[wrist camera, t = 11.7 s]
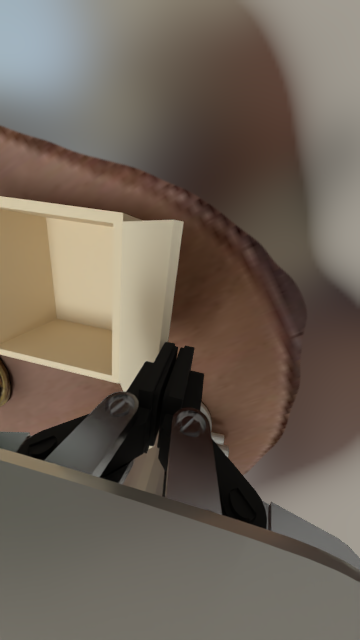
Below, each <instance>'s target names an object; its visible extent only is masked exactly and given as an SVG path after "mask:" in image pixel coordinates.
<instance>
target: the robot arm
mask: <svg viewBox="0 0 360 640" xmlns="http://www.w3.org/2000/svg"><path fill="white" fill-rule="evenodd" d="M177 351H178V347H176V346H175V344H174V343H169V342H165V343H164V345H163V346H162V348H161V350H160V352H159V354H158V356H157V357H156V359H155V361H154V363H153V362H148V361H146V362H145V363H144V364H143V366H142V368H141V369H140V371H139V372H138V374H137V376H136V377H135V379H134V380H133V382H132V383H131V385H130V387H129V388H128V390H127V391H126V392H116V393H113V394H111V395H109V396H108V397H106V398H105V399H104V400H103V401H102V402H101V403H100V404H99V405H98V406H97V407H96V408H95V409H94V410H93V411H92V412H91V413H90V414H87V415H85V416H82V417H79V418H76V419H74V420H71V421H68V422H65V423H63V424H60V425H57V426H54V427H52V428H49V429H46V430H43V431H41V432H39V433H37V434H35V435H33V436H30V433H24V432H0V640H360V558H359V557H358V556H357V555H356V554H355V553H354V552H353V551H352V549H351V548H350V547H349V546H348V545H346V544H345V543H344V542H342V541H341V540H340V539H338V538H336V537H335V536H333V535H331V534H329V533H327V532H326V531H324V530H322V529H320V528H318V527H316V526H315V525H313V524H311V523H309V522H307V521H305V520H303V519H302V518H300V517H298V516H296V515H294V514H293V513H291V512H289V511H287V510H285V509H283V508H282V507H280V506H278V505H276V504H274V503H272V502H271V504H270V505H269V504H267V503H265V502H264V501H262V500H261V498H260V497H259V495H258V494H257V492H256V491H255V490H254V488H253V487H252V486H251V485H250V484H249V482H248V481H247V480H246V479H245V478H244V476H243V475H242V474H241V473H240V472H239V470H238V469H237V468H236V467H235V466H234V464H233V463H232V462H231V461H230V460H229V458H228V453H229V448H228V446H227V445H224V444H223V443H224V435H222V434H218V433H213V432H211V427H212V422H211V416H210V413H209V411H208V410H207V408H206V407H205V405H204V404H203V403H202V402H201V399H202V389H203V379H204V374H203V373H199V372H194V371H190V370H191V364H192V359H193V353H194V347H189V346H185V347H184V348H180V351H179V354H178V356H177ZM176 358H177V359H176ZM154 444H155V445H154ZM149 446H154V447H152V448H150V449H149Z"/></svg>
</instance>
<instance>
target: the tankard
mask: <svg viewBox="0 0 360 640" xmlns="http://www.w3.org/2000/svg"><path fill="white" fill-rule="evenodd" d="M10 387H11V385H10V381H9V378H8V371H7V370H6V368H5V366H4V364H3V363H2V361H1V360H0V406H2V405H4V404H5V403H6V402H7V401H8V399H9V397H10Z"/></svg>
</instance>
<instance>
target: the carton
mask: <svg viewBox="0 0 360 640" xmlns="http://www.w3.org/2000/svg"><path fill="white" fill-rule="evenodd" d="M125 221H143V220H140V219H138V218H135V217H133V216H130V215H127V214H125V213H120V212H113V211H106V210H98V209H91V208H84V207H76V206H69V205H61V204H54V203H47V202H39V201H32V200H25V199H17V198H10V197H2V196H0V355H4V356H8V357H12V358H16V359H21V360H25V361H29V362H33V363H37V364H41V365H45V366H49V367H53V368H57V369H61V370H65V371H70V372H74V373H78V374H82V375H86V376H90V377H94V378H98V379H102V380H106V381H110V382H114V383H118V384H119V383H120V382H119V342H120V300H121V258H122V222H125Z"/></svg>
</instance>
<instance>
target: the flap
mask: <svg viewBox="0 0 360 640" xmlns="http://www.w3.org/2000/svg"><path fill="white" fill-rule="evenodd" d="M183 223H184V222H183V221H178V220H150V221H125V222H122V258H121V300H120V342H119V382H120V384H121V387H122V389H123V391H124V392H126V391H127V390H128V388H129V387H130V385H131V383H132V382H133V380H134V379H135V377H136V376H137V374H138V372H139V371H140V369H141V368H142V366H143V364H144V363H145V362H146V361H148V362H153V363H154V361H155V359H156V357H157V356H158V354H159V352H160V350H161V348H162V346H163V345H164V343H165V342H168V338H169V330H170V322H171V315H172V307H173V299H174V292H175V284H176V276H177V269H178V261H179V253H180V246H181V238H182V230H183ZM154 445H155V444H154ZM152 447H154V446H149V449H150V448H152Z"/></svg>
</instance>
